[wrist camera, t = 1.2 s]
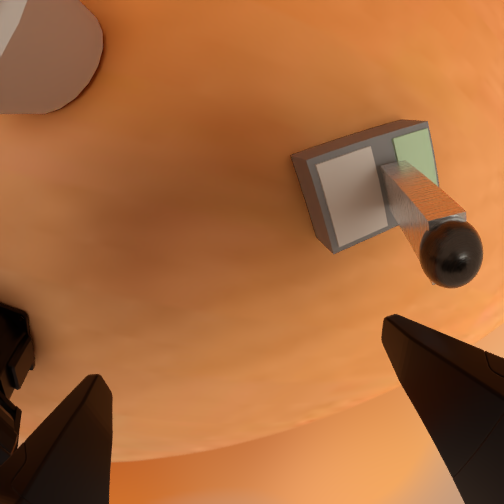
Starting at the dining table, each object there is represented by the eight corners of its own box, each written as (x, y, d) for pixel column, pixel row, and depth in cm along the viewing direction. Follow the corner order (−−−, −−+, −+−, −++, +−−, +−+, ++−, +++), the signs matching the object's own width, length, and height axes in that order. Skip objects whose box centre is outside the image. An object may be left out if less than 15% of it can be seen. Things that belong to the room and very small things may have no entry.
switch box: (316, 237, 21) (334, 255, 18) (290, 155, 19) (307, 160, 16) (416, 194, 21) (443, 205, 18) (401, 119, 19) (429, 121, 16)
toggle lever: (381, 210, 18) (431, 312, 9) (372, 167, 16) (429, 244, 8) (419, 201, 17) (491, 294, 9) (412, 158, 16) (495, 226, 8)
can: (131, 37, 14) (56, -59, 3) (60, 135, 16) (-75, 161, 5) (56, -4, 11) (-36, -75, 1) (-6, 86, 13) (-130, 85, 2)
